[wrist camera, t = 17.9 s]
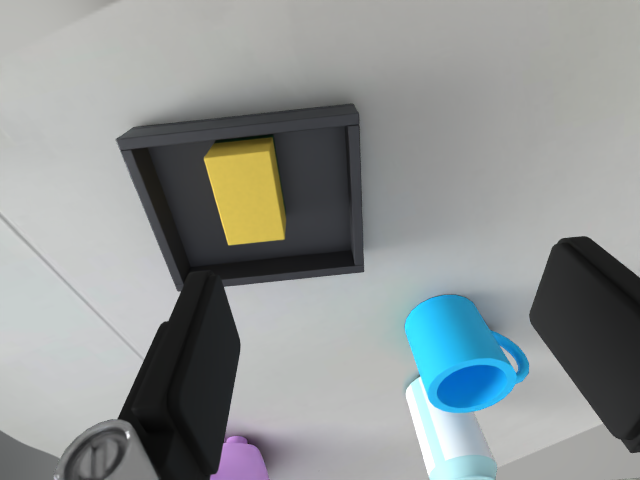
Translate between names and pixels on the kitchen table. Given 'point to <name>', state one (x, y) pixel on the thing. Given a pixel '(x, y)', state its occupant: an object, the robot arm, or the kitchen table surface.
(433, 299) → the mug
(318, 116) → the tray
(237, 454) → the teapot
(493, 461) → the can
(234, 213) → the sponge
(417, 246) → the kitchen table surface
